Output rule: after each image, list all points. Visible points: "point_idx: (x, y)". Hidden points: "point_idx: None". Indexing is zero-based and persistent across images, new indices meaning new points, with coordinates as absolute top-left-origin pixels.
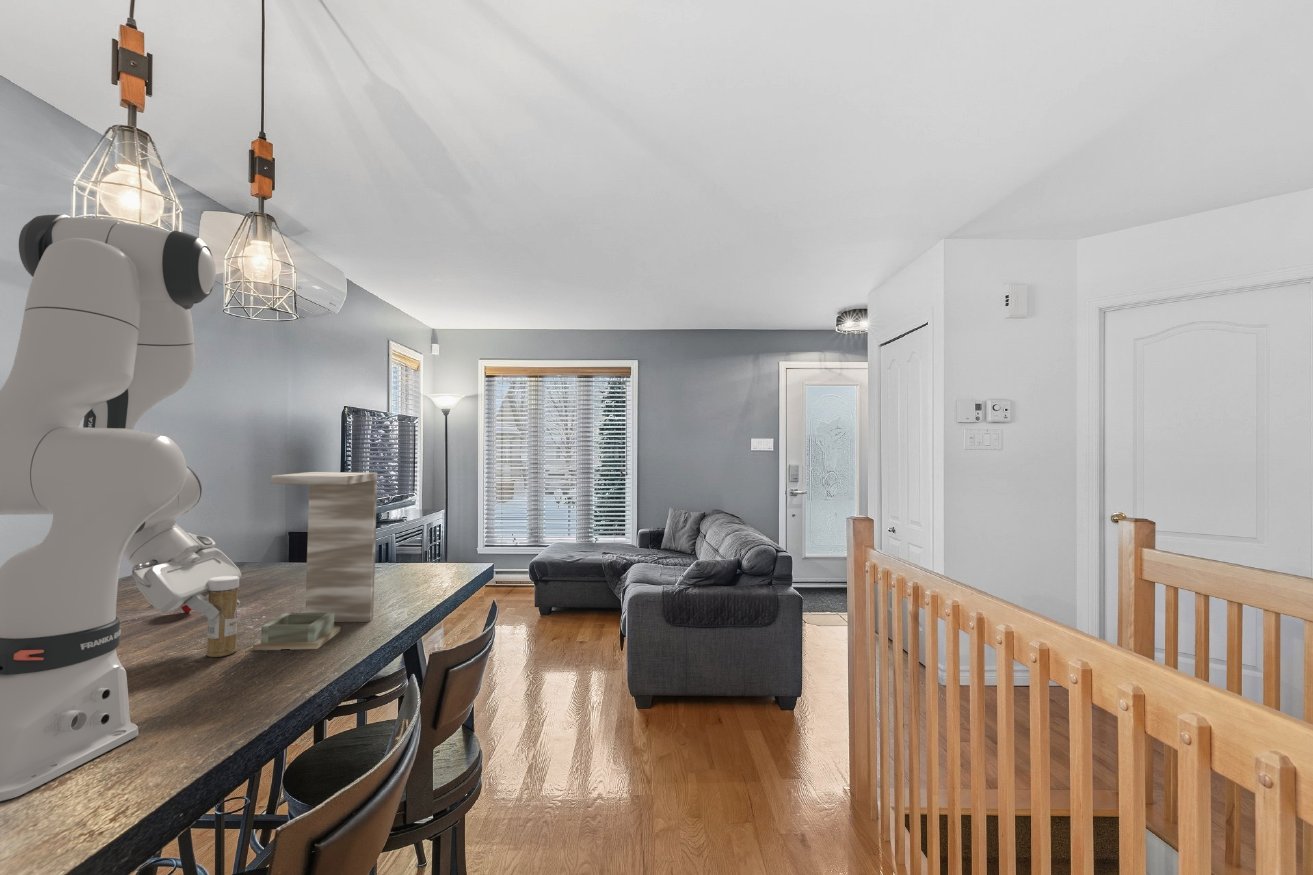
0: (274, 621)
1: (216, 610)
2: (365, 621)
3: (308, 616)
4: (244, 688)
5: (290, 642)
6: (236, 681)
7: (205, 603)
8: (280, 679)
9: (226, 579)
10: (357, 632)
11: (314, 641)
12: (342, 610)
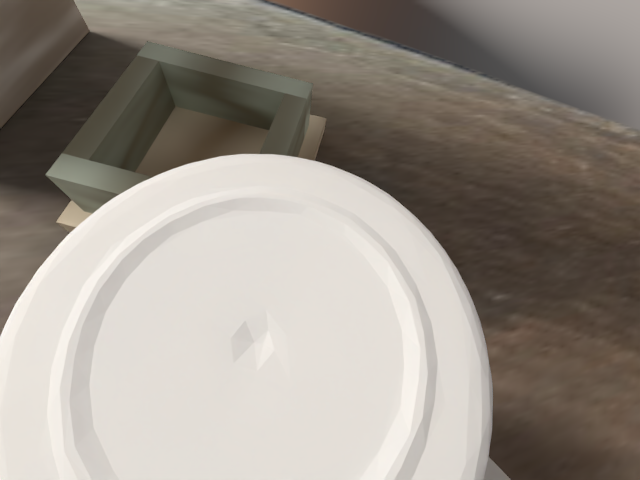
0: None
1: None
2: (82, 38)
3: (132, 108)
4: (609, 245)
5: None
6: (563, 273)
7: (499, 469)
8: (549, 184)
9: (428, 262)
10: None
11: (309, 124)
12: (14, 47)
